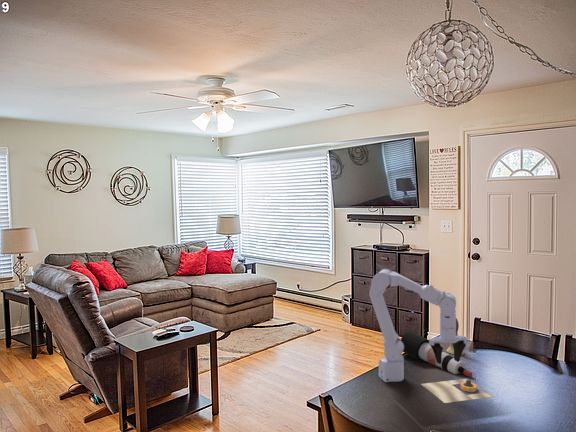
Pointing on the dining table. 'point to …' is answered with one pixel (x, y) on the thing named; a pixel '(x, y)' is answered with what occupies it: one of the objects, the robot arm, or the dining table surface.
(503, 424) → the dining table surface
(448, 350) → the hand bell
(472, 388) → the orange hexagonal nut
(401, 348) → the robot arm
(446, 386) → the cream flat rectangular board
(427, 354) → the cable
